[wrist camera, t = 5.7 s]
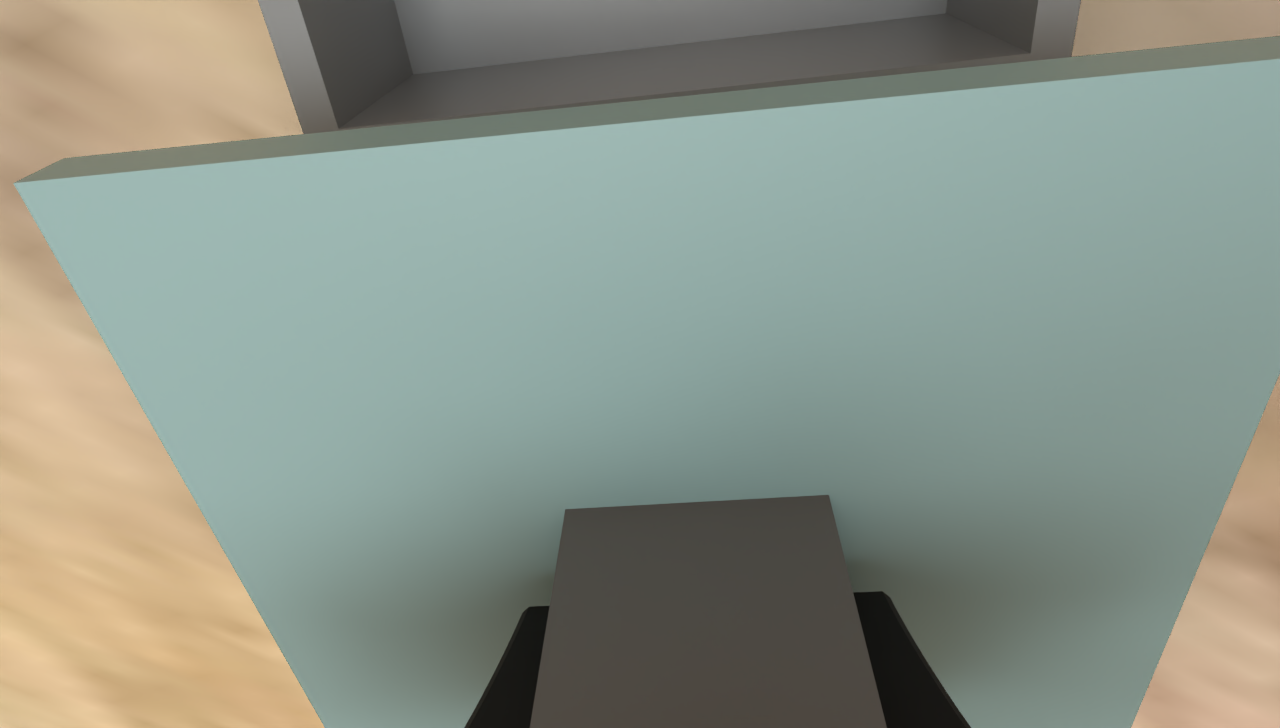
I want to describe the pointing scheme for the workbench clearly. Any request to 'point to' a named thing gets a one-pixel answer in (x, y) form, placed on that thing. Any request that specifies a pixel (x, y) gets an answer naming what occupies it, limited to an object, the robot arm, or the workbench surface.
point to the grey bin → (623, 50)
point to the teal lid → (714, 383)
